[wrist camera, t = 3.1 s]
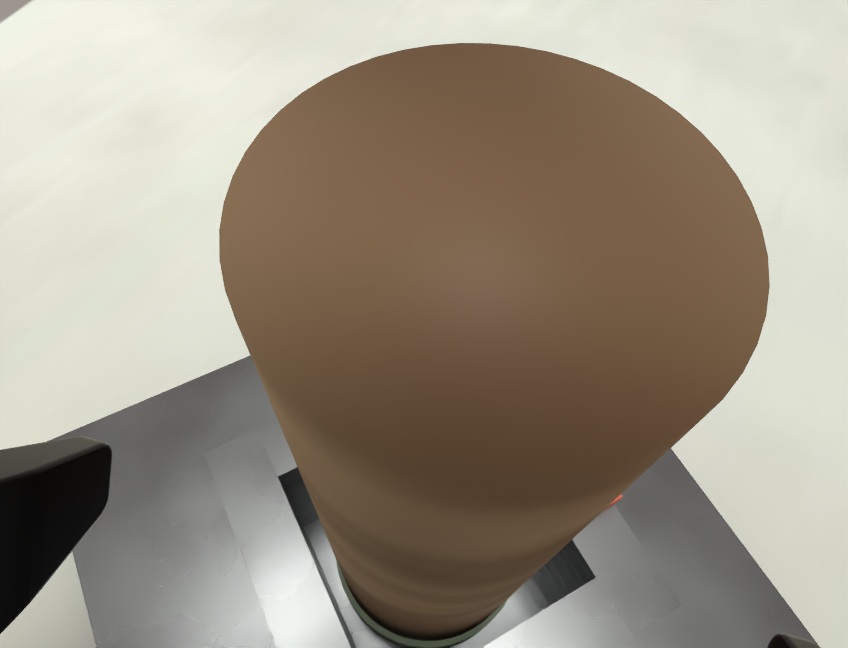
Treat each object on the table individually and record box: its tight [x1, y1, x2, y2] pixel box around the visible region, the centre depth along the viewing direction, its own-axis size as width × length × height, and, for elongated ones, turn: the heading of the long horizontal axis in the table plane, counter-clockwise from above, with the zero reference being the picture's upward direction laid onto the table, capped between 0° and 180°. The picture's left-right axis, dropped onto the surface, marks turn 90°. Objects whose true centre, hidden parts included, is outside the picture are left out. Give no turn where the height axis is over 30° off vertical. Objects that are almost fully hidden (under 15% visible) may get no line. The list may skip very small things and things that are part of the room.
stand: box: [47, 356, 819, 648], centre depth 15 cm, size 16×16×6 cm
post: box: [219, 43, 769, 648], centre depth 11 cm, size 4×4×14 cm
